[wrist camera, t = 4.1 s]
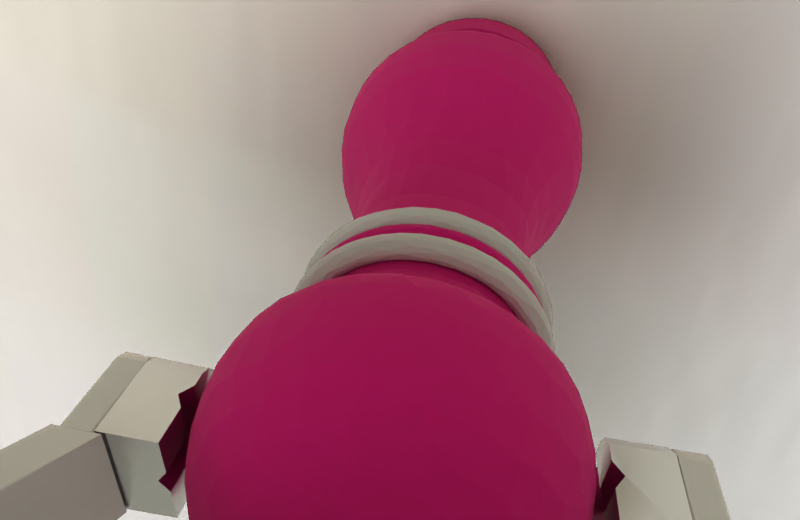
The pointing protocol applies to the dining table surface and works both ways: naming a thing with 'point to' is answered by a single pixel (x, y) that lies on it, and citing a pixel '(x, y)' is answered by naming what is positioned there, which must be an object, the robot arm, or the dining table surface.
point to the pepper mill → (417, 314)
